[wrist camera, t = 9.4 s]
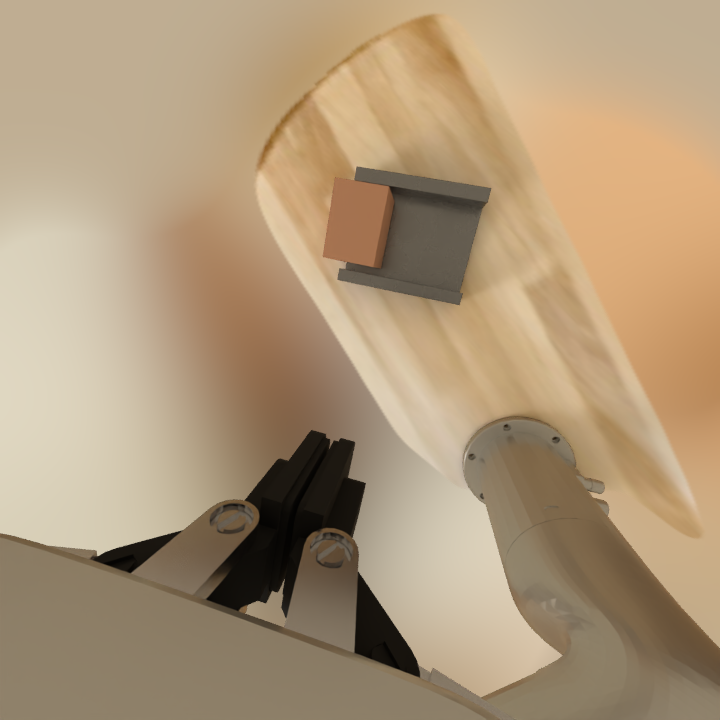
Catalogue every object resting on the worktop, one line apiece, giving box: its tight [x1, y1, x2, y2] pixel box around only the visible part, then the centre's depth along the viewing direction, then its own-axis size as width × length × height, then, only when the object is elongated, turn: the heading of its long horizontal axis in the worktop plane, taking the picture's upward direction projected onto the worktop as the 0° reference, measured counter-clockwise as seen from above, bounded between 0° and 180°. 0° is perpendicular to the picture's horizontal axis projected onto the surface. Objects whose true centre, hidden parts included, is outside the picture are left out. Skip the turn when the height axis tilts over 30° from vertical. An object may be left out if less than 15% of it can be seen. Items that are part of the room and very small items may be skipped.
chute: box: [338, 167, 491, 305], centre depth 35 cm, size 13×11×4 cm
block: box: [323, 177, 395, 269], centre depth 34 cm, size 5×7×6 cm
